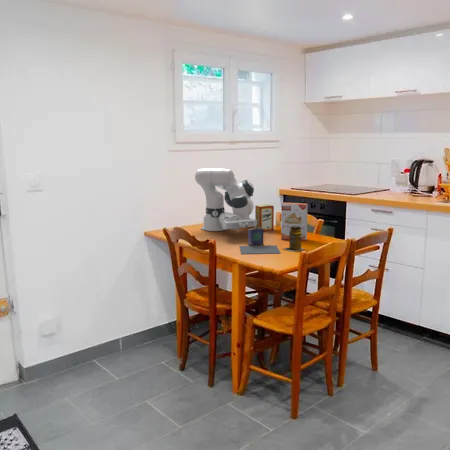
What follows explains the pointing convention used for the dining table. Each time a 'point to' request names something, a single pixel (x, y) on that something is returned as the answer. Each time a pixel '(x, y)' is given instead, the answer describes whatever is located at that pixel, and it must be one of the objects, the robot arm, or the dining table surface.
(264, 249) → the slate mat
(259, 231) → the flask
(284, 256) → the dining table surface
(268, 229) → the baking soda box
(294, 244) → the condiment
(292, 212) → the cracker box
